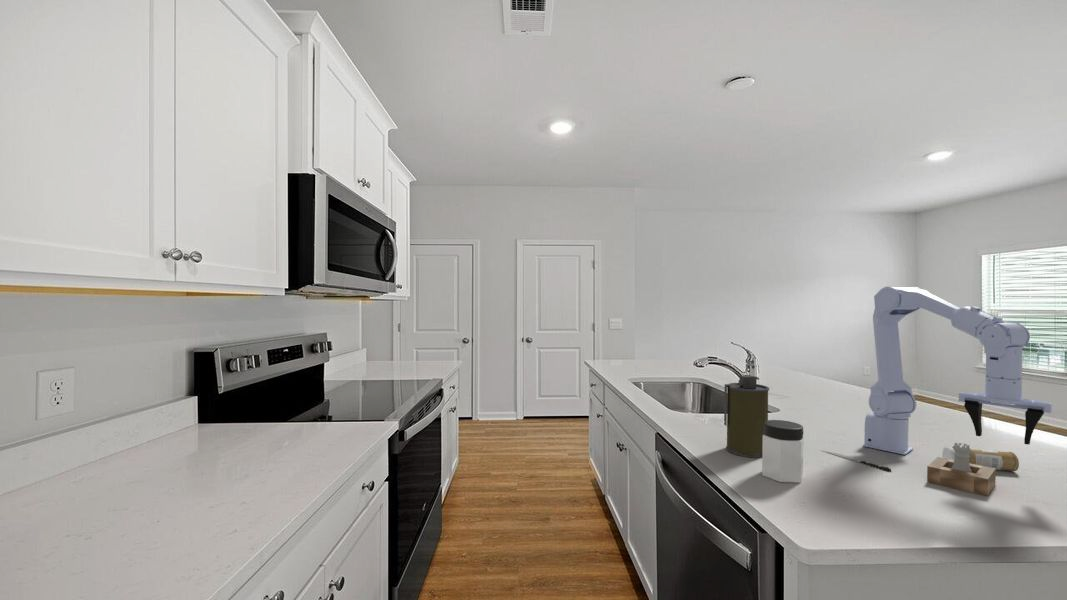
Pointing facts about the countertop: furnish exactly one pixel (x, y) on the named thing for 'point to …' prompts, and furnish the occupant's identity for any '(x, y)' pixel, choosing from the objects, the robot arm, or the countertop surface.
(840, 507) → the countertop surface
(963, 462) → the rook chess piece
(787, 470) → the jar
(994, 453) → the sprinkles bottle
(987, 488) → the bore block
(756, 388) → the canister
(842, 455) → the chef's knife
